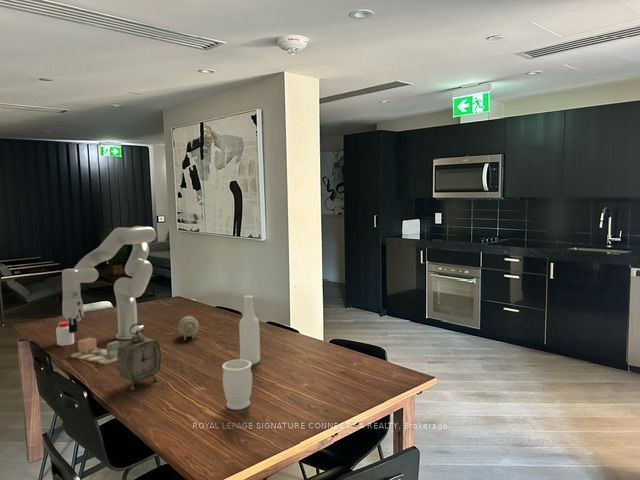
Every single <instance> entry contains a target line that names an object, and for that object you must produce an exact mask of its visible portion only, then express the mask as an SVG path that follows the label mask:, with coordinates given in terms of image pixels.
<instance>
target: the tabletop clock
mask: <svg viewBox="0 0 640 480" xmlns="http://www.w3.org/2000/svg"><path fill="white" fill-rule="evenodd" d="M135 325H137V326H138V325H139V326H140V325H143V326H144V328H143V329H140V330H136V333H132V332H131V328H132V327H133V326H135ZM145 327H146V326H145V324H144V323H142V322H137V323H136V324H134V325H132V326H131V327H130V330H129V332H130V333H131V334H135V335H133V336H132V338H131V339H130V340H129V341H127V342H124V343H122V344H121V345H120V346H119V347H118V351H117V361H116V363H117V370H118V373H119V376H120V378H121V379H126V380H130V381H131V386H130V387H129V388H130V389H129V390H130V391H134V390H135V386H134V384H138V383H139V381H142V380H145V379H149V378H150V377H152V378H153V379H152V380H153V381H154V382H156V381H157V380H158V377H157V376H155V375H156V374H157V373H158V372H159V371H160V369H161V363H162V361H161V360H162V356H161V352H162V351H161V347H160V343H159V341H158V340H156V339H151V338H147V337H145V336H144V335H143V334H142V332H143V331H144V330H145ZM139 333H141V334H139Z"/></svg>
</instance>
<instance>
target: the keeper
mask: <svg viewBox="0 0 640 480" xmlns="http://www.w3.org/2000/svg"><path fill="white" fill-rule="evenodd" d="M97 345H98V344H97V338H94V337H91V336H89V337H86V338H83V339H80V340H78V341H77V346H78V347H77V348H78V349H77V350H78V351H79V352H81V353H86V354H88V353H89V350H96V348H98V347H97Z"/></svg>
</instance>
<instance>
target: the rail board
mask: <svg viewBox="0 0 640 480" xmlns="http://www.w3.org/2000/svg"><path fill="white" fill-rule="evenodd" d="M119 346H120V341H119V340H114V341H111V342H108V343H106V348H100V347H97V348H96V350H89V353H88V354H86V353H81V352H80V351H78V352H77V351H76V352H75V353H72V354H70V357H71V358H75V359H78V360H84V361H88V362H92V361H93V363H96V362H97V364H100V365H105V366H106V365H108V364H112V363H114V362H117V351H118V347H119Z"/></svg>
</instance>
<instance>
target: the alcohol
mask: <svg viewBox="0 0 640 480" xmlns="http://www.w3.org/2000/svg"><path fill="white" fill-rule="evenodd" d="M238 328H239V329H238V330H239V358H240V359H243V360H248V361H250V362H251V363H252V366H253V365H257V364H258V363H259V362H260V361H261V343H260V341H261V339H260V335H261V334H260V321H259V319H258V318H257V316H256V315H255V309H254V298H253V295H252V294H247V295H244V296H243V316H242V317H241V319H240V320H239V324H238Z"/></svg>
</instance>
